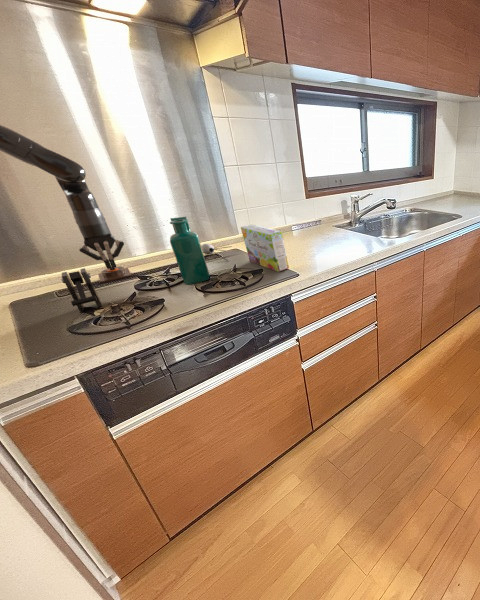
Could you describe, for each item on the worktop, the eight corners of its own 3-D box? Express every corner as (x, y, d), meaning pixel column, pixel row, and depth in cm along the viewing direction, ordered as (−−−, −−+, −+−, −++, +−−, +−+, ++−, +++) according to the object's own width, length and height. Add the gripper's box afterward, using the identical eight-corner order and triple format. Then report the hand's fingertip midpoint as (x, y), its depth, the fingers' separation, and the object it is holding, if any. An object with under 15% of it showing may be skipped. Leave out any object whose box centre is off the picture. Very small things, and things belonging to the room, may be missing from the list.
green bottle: (211, 280, 118) (193, 220, 109) (184, 285, 114) (163, 223, 105) (209, 272, 126) (191, 215, 116) (184, 277, 122) (163, 218, 112)
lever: (98, 302, 91) (94, 296, 89) (74, 308, 88) (70, 302, 86) (88, 275, 96) (85, 269, 94) (65, 280, 93) (61, 274, 91)
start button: (120, 273, 120) (119, 269, 119) (108, 276, 118) (106, 271, 117) (119, 271, 123) (118, 266, 122) (107, 273, 120) (105, 269, 120)
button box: (133, 280, 120) (129, 270, 119) (102, 287, 115) (97, 276, 113) (129, 272, 128) (125, 263, 126) (100, 279, 122) (95, 269, 120)
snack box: (248, 262, 136) (239, 226, 129) (260, 258, 140) (252, 223, 133) (277, 272, 124) (269, 233, 117) (290, 268, 128) (283, 230, 121)
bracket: (113, 312, 97) (95, 272, 92) (73, 322, 92) (51, 281, 86) (110, 301, 104) (93, 264, 98) (73, 311, 99) (52, 272, 93)
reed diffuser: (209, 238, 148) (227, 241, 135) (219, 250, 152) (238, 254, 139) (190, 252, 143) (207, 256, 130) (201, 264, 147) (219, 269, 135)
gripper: (114, 217, 118) (133, 262, 126) (65, 224, 110) (88, 271, 118) (116, 220, 113) (135, 267, 121) (65, 227, 105) (89, 276, 113)
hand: (112, 269), depth 120 cm, fingers closed
